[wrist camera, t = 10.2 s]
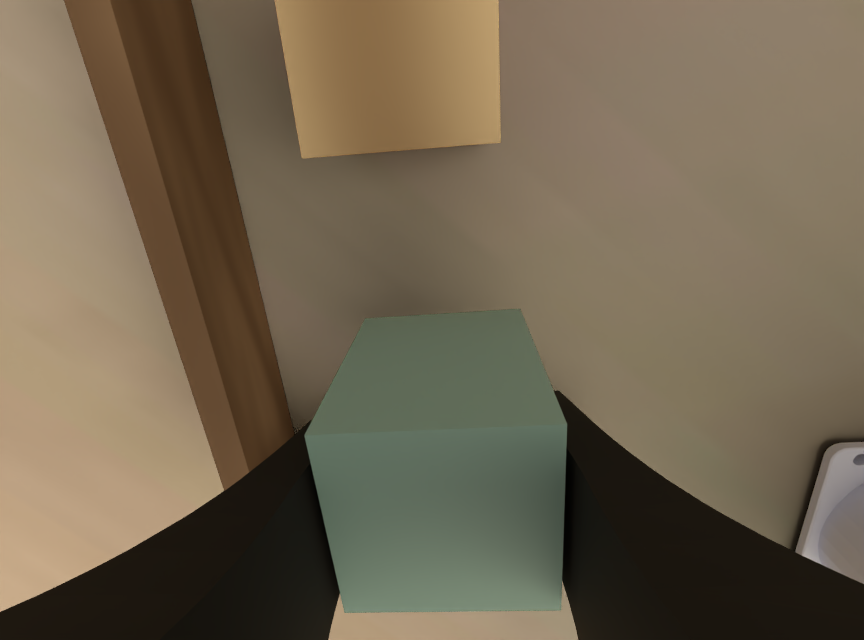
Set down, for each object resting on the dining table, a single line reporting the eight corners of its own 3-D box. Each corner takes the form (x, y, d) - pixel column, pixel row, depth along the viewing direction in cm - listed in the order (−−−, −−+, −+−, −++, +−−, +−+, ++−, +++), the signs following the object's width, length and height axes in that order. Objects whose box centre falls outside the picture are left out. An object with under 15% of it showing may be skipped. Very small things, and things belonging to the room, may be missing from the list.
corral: (604, -230, 10) (675, -409, 7) (575, 448, 17) (603, 519, 14) (114, -156, 11) (-29, -283, 8) (276, 458, 18) (236, 528, 15)
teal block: (520, 308, 11) (567, 423, 6) (521, 439, 13) (561, 610, 8) (365, 318, 11) (304, 435, 7) (384, 444, 13) (344, 613, 8)
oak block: (480, -17, 12) (496, -122, 7) (485, 143, 13) (501, 142, 9) (334, -1, 12) (258, -92, 7) (354, 154, 14) (301, 158, 9)
